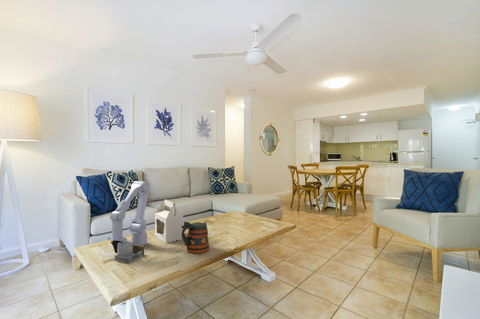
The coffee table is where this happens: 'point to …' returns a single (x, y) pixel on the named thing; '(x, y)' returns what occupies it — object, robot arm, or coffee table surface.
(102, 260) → the coffee table surface
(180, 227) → the gable box
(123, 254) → the medicine box
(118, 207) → the robot arm
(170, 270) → the coffee table surface
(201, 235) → the beer stein
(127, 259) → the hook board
